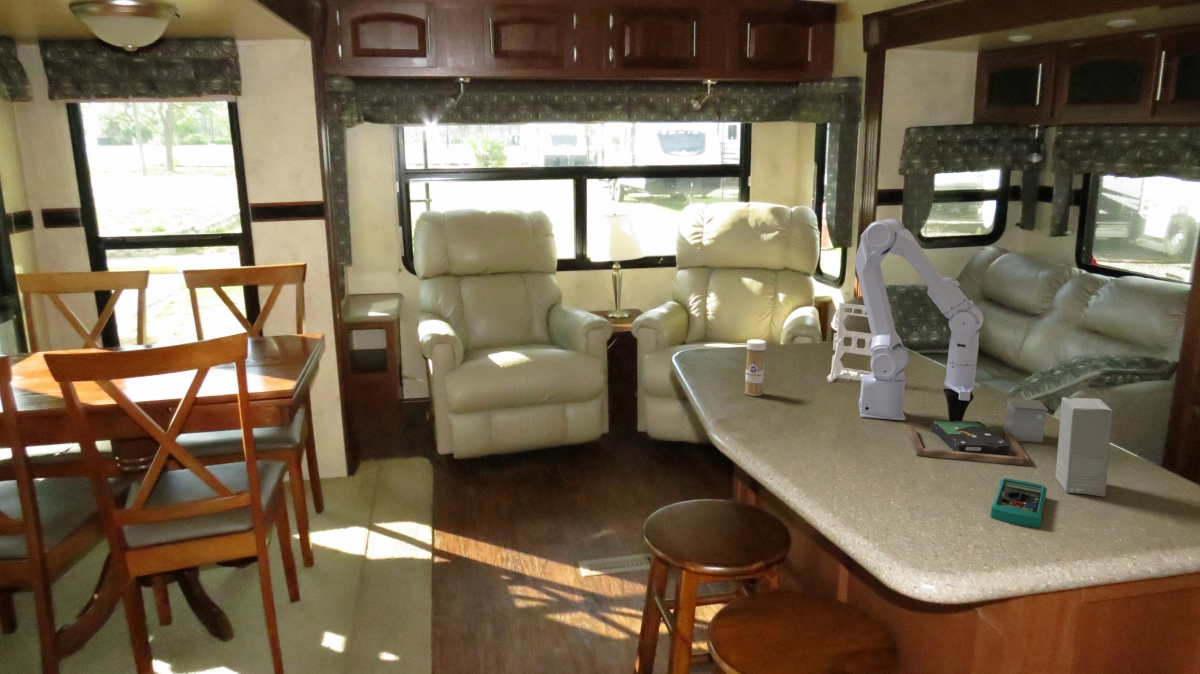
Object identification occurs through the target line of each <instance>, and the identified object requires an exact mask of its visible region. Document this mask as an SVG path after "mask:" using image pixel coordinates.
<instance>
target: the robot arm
mask: <svg viewBox="0 0 1200 674" xmlns="http://www.w3.org/2000/svg"><path fill="white" fill-rule="evenodd" d="M888 254H893V255H896V256H900V257H903V258H904V259H905V260H906V261H907V263H908V264H910V266H911V267H912V268H913V269H914V271H916V273H917V274H918V275H919V276H920V277H921V278H922V280H923V281H924V282H925V283H926V285H927V292H926V293H927V295H928V297H929V298H930V300H931V301H932V302H933V303H934V304H935V306H936V307H937V308H938V309H939V311H940V312H941V313H942V315H944V317H945V318H947V319H948V326H949V327H948V328H949V329H950V340H949V345H948V354H947V363H946V370H945V371H946V372H945V379H944V381H943V384H944V386H946V387H947V388H943V389H942V391H943V393H944V395H945V399H946V403H947V413H948V422H955V421H963V419H964V416H965V413H966V412H967V408H968V407H969V405H970V403H971V402H972V401H973V400H974V397H975V396H974V394H973V392H972V391H973V390H974V389H978V388H981V384H980V383H979V382H976V381H975V379H976V371H977V370H976V369H977V363H978V355H979V345H980V343H979V339H980V330H979V329H981V327H982V326H983V323H984V314H983V312H982V310H981V308H980V307H979V306H976V305H975V304H974V301H973V300H972V299H968V297H967V296H966V295H965V294H964V292H963V291H962V290H961V288H959V287H960V286H961V284H960V282H959V281H958V280H953V278H952V277H951V276H950V277H947V276H943V275H942V274H941V273H940V272H939V270H938V269H937V267H936V266H935V264H934V263H933V262H932V261H931V259H930V258H929V256H928V255H927V254H926V252H925V251H924V250H923V248H922V246H921V245H920V244H919V243H918V241H917V240H916V238H915V237H914V235H913V234H912V233H911V232H910V230H908V229H907V228H905V226H904V224H903V223H902V221H900V220H899V219H897V218H896V219H895V218H894V217H893V218H892V217H891V218H890V217H889V218H886V219H883V220H876V221H874V222H871V223H870V224H869V225H867V227H866V229H865V230H864V231H863V232H862V234H861V235H860V242H859V245H858V248H857V252H856V254H855V258H854V266H855V270H856V274H857V275H856V276H857V279H858V283H859V286H860V291H861V295H862V299H863V304H864V306H865V309H866V312H865V314H866V315H867V317H866V318H867V321H868V325H869V329H870V334H872V340H871V343H870V349H871V353H872V356H871V358H870V364H869V365H870V367H869V368H870V370H871V372H872V375H869V374H866V375H863V376H862V381H860V393H859V395H860V396H859V399H858V409H859V414H860V417H862V418H871V419H872V418H873V419H884V420H885V419H886V420H896V421H906V416H905V413H904V410H903V406H904V405H903V404H904V395H905V386H906V374H905V371H904V369H906V367H908V365H909V363H910V353H909V352H908V350H907V349H906V347H905V346H904V345H903V342H902V338H901V337H900V335H899V334H898V333H897V330H896V328H895V323H894V318H892V317H893V314H892V310H891V309H890V308H891V305H890V302H889V297H888V294H887V292H888V291H887V289H886V284H885V280H884V276H883V271H882V268H881V263H882V262H883V260H885V258H886V256H887V255H888Z"/></svg>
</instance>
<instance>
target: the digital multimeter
mask: <svg viewBox="0 0 1200 674" xmlns="http://www.w3.org/2000/svg"><path fill="white" fill-rule="evenodd" d="M1047 491H1048V488H1047V487H1046V486H1044V485H1043V484H1039V483H1035V482H1030V481H1024V480H1020V479H1013V478H1007V477H1006V478H1005V477H1004V478H1002V479H1000V482H999V487H998V490H997V494H996V497H995V499H994V502H992V505H991V509H990V518H991V519H994V520H998V521H1001V522H1004V523H1008V524H1012V525H1017V526H1023V527H1030V528H1037V529H1038V528H1040V527H1041V525H1042V516H1043V515H1042V514H1043V513H1042V512H1043V508H1044V505H1045V501H1046V498H1047Z"/></svg>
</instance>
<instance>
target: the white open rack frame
mask: <svg viewBox="0 0 1200 674" xmlns="http://www.w3.org/2000/svg"><path fill="white" fill-rule="evenodd" d="M845 308H846V309H852V310H851V312H847V311H845ZM856 309H857V310H861V313H856V312H855V310H856ZM890 309H891V307H890ZM854 312H855V313H854ZM848 316H856V317H864V318H868V317H867V314H866V309H865V304H864V305H862V304H854V303H843V302H839V305H838V310H835V318H834V328H835V329H837V330H836V332H835V333H833V342H832V343H833V347H832V350H833V351H835V353H834V354H833V355H832V358H831V371H830V374H829V375H827V376H826V380H827V382H828V383H833V382H834V381H835V380H837V379H838V378H839V379H844V378H845V379H846V380H850V379H852V380H851V381H857V380H859V381H858V382H861V381H862V376H863V375H872V371H867V370H864V369H863V370H861V369H855V368H848V367H844V365H843V363H842V361H841V358H842V357H843V355H844V354H845V353H847V354H848V353H849V354H856V355H862V356H863V355H864V356H870V357H872V353H871V343H872V334H871V333H868V332H859V331H852V330H847V328H846V327H845V324H844V322H845V320H846V318H847V317H848ZM892 318H893V316H892ZM893 319H894V318H893ZM845 337H846V338H851V345H849V346H847V345H845V343H844V340H845ZM858 339H861V340H862V339H863V340H864V341H865V343H864V344H865V345H864V348H862V347H858V344H857V342H858V341H859V340H858Z"/></svg>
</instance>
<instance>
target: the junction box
mask: <svg viewBox="0 0 1200 674" xmlns="http://www.w3.org/2000/svg"><path fill="white" fill-rule="evenodd" d="M1006 402H1007V407H1006V414H1005V423H1004V433H1005V435H1006V434H1011V435H1013V436H1014V438H1015V439H1016V441H1017V442H1027V443H1035V444H1036V443H1039V444H1042V443H1043V441H1044V440H1043V438H1044V434H1045V433H1044V432H1045V427H1046V418H1047V413H1048V412H1049V409H1048V407H1046V405H1044V404H1043V402H1042V401H1041V400H1037V399H1024V398H1023V399H1022V398H1012V397H1011V398H1008V397H1007V398H1006Z"/></svg>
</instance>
